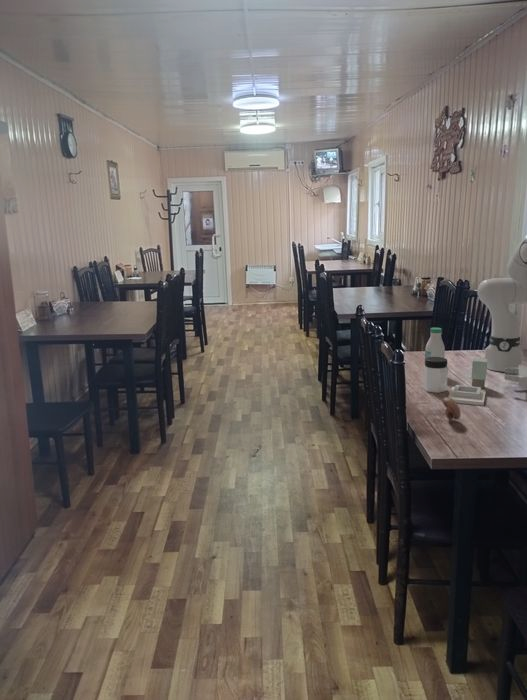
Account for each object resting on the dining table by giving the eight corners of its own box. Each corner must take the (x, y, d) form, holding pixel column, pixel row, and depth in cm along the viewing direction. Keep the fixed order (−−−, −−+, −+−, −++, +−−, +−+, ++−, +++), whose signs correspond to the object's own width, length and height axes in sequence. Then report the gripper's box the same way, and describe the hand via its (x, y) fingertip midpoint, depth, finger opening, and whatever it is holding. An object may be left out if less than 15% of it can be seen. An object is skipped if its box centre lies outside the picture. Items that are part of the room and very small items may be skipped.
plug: (471, 385, 220) (473, 358, 217) (485, 386, 218) (487, 359, 215) (470, 388, 215) (472, 360, 213) (484, 390, 213) (486, 362, 211)
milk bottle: (444, 374, 236) (447, 327, 232) (442, 378, 229) (444, 330, 225) (425, 372, 239) (428, 326, 235) (422, 376, 233) (424, 329, 228)
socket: (451, 389, 215) (452, 381, 214) (485, 392, 210) (486, 385, 210) (447, 401, 201) (447, 393, 200) (483, 405, 196) (484, 397, 195)
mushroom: (441, 416, 186) (443, 393, 184) (461, 418, 184) (463, 395, 182) (438, 423, 179) (440, 399, 178) (459, 426, 177) (460, 402, 175)
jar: (435, 394, 209) (436, 363, 207) (418, 389, 216) (419, 358, 213) (451, 390, 214) (452, 359, 212) (433, 385, 221) (435, 355, 218)
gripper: (545, 362, 215) (505, 359, 220) (547, 375, 197) (504, 372, 202) (543, 378, 216) (504, 374, 222) (546, 393, 198) (503, 389, 204)
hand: (504, 373), depth 212 cm, fingers open, 8 cm apart
